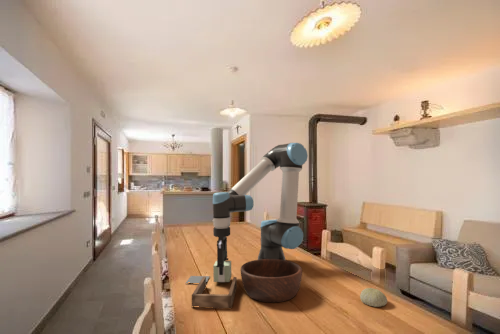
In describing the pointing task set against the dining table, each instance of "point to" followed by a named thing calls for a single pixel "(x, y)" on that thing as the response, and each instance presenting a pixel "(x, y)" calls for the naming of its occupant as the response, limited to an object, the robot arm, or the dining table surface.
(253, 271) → the wooden bowl
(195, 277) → the slate mat
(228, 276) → the sage block
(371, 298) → the sea urchin shell
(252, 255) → the dining table surface
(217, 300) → the walnut cubby
